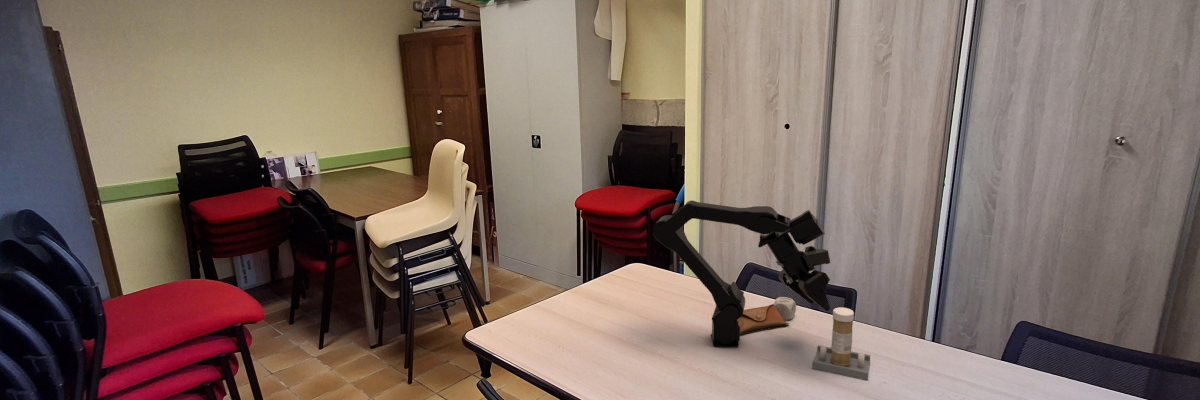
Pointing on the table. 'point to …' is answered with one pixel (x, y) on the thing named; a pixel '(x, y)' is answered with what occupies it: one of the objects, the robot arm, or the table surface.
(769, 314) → the sunglasses case
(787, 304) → the die
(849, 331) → the sprinkles bottle
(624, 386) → the table surface
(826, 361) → the tray
